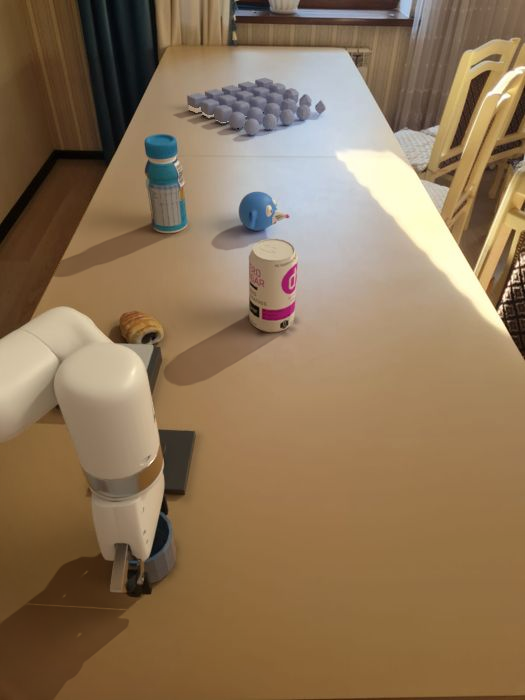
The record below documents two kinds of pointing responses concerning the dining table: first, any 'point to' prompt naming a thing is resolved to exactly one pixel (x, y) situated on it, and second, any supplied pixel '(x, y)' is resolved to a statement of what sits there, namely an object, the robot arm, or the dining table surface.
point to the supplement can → (272, 284)
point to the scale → (146, 361)
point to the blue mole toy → (259, 211)
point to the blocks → (254, 105)
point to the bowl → (160, 551)
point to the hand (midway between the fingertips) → (147, 550)
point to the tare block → (176, 459)
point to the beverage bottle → (165, 184)
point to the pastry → (140, 328)
